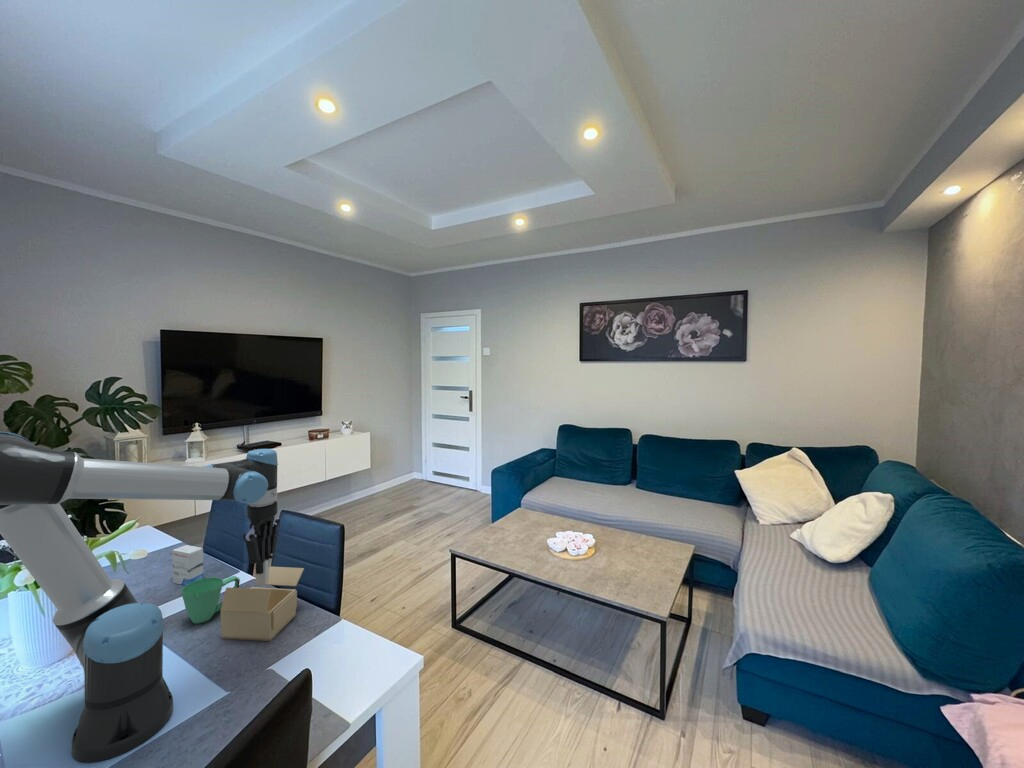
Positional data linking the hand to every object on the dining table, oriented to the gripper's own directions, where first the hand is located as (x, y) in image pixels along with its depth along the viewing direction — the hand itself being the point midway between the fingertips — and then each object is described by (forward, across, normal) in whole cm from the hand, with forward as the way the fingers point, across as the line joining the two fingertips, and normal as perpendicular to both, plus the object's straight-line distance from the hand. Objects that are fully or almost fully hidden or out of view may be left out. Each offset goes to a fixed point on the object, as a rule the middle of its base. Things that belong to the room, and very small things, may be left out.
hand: (262, 582), depth 117 cm
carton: (+13, -1, 0) cm, 13 cm away
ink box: (+13, +20, +41) cm, 48 cm away
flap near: (+4, -8, 0) cm, 9 cm away
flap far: (+4, +6, 0) cm, 7 cm away
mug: (+13, +3, +18) cm, 22 cm away
